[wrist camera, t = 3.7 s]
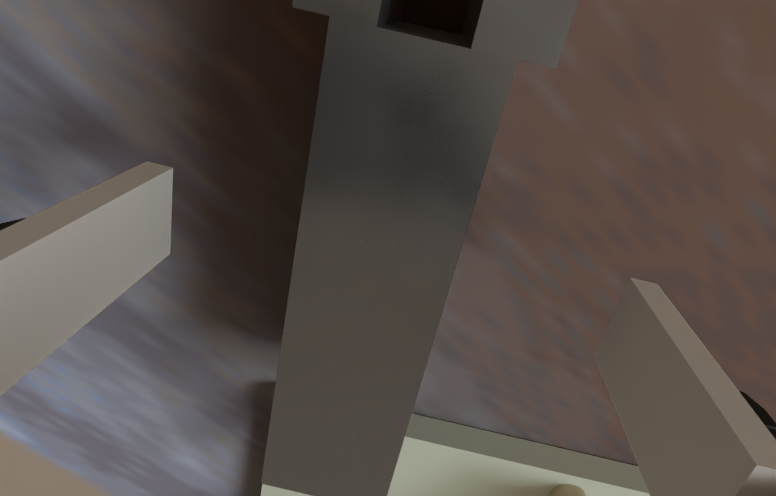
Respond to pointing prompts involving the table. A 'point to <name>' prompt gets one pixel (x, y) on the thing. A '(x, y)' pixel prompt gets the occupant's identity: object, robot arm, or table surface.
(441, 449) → the peg rack
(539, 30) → the long grey bar
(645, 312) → the robot arm
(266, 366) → the table surface
